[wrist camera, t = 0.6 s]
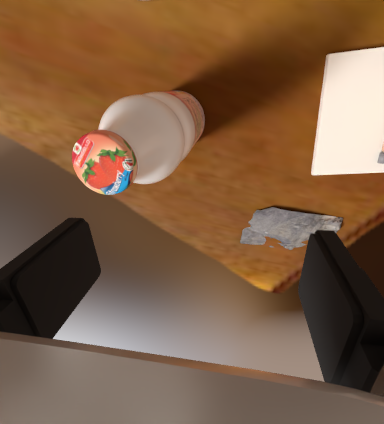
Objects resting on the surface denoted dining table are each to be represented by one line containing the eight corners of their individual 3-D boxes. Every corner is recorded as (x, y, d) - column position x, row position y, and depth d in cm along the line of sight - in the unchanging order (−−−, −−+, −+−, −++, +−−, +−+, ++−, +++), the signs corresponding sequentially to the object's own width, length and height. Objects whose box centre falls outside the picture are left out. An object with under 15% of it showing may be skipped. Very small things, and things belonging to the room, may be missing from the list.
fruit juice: (185, 156, 45) (124, 240, 21) (144, 124, 44) (27, 174, 19) (216, 114, 41) (187, 157, 16) (172, 77, 39) (67, 62, 15)
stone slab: (239, 245, 51) (248, 206, 46) (239, 240, 53) (247, 201, 48) (326, 257, 50) (345, 218, 44) (323, 252, 51) (341, 213, 46)
